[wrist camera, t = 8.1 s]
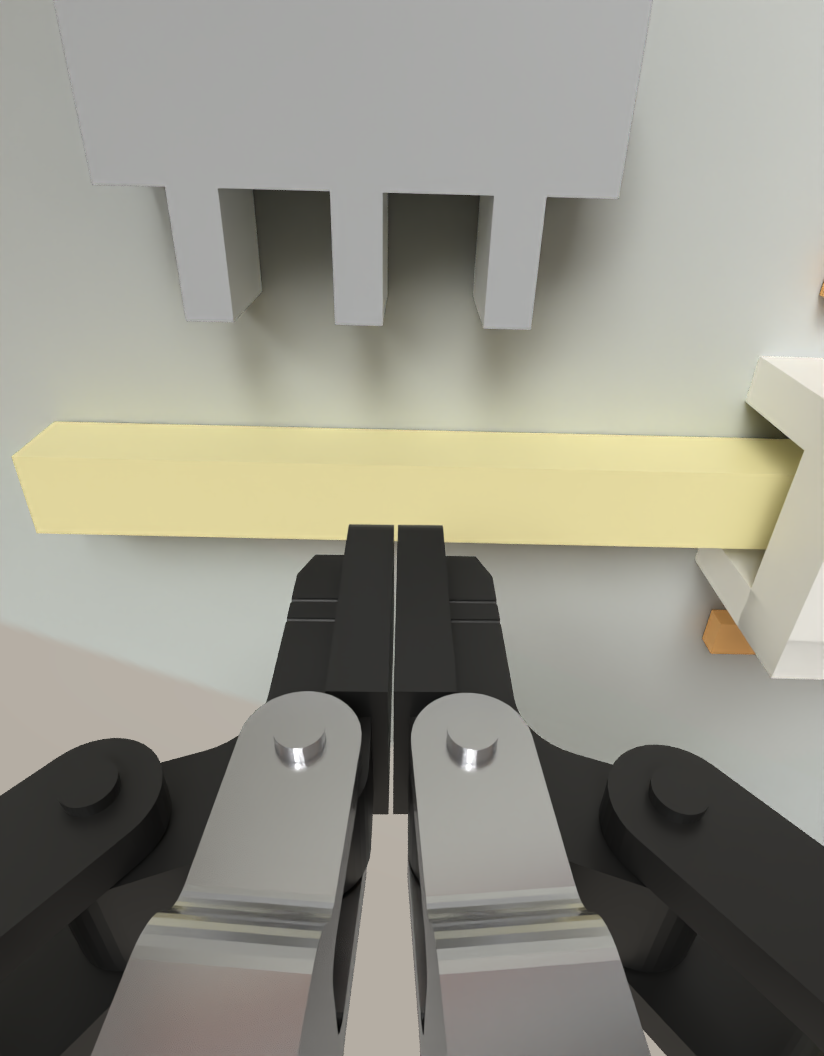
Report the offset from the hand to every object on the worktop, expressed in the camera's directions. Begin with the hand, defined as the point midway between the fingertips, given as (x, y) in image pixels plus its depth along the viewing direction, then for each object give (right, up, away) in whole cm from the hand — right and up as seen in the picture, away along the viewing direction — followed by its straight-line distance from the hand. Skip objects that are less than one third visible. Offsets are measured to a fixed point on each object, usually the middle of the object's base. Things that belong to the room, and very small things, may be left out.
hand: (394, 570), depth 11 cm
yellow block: (+4, +2, +4) cm, 6 cm away
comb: (0, +8, +1) cm, 8 cm away
